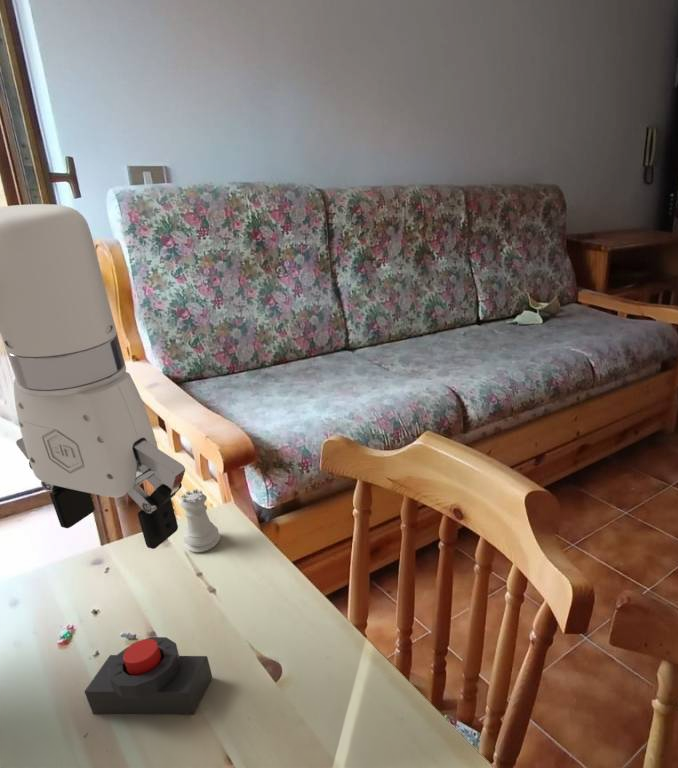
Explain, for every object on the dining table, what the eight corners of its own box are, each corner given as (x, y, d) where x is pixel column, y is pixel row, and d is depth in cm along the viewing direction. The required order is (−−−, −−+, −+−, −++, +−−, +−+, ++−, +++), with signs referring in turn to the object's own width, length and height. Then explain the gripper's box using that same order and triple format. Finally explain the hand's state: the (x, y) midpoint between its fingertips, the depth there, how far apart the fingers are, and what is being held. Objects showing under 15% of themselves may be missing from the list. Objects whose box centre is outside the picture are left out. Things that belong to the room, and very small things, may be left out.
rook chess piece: (190, 558, 83) (177, 509, 79) (181, 541, 86) (168, 492, 83) (225, 545, 85) (214, 496, 82) (215, 528, 89) (204, 481, 85)
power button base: (87, 721, 62) (73, 685, 59) (121, 670, 67) (109, 636, 65) (190, 722, 62) (180, 686, 60) (215, 671, 67) (207, 637, 65)
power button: (120, 675, 61) (116, 663, 60) (137, 651, 64) (133, 638, 63) (151, 676, 61) (147, 663, 60) (167, 651, 64) (163, 638, 63)
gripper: (-57, 365, 50) (10, 536, 58) (117, 394, 46) (166, 574, 54) (31, 334, 57) (81, 491, 64) (190, 357, 53) (225, 522, 60)
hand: (120, 529), depth 59 cm, fingers open, 9 cm apart
